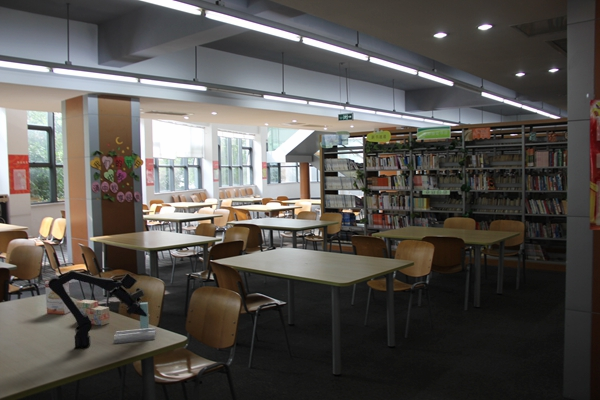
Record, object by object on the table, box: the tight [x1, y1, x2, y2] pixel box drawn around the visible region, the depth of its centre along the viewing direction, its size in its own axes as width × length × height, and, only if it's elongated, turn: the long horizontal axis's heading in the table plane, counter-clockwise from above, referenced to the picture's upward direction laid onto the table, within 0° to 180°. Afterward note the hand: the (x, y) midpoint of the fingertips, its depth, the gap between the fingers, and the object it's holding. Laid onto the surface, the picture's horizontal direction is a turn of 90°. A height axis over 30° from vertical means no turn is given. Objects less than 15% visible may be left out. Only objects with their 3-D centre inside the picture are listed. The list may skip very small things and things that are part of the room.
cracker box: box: [44, 280, 71, 315], centre depth 315 cm, size 14×6×21 cm, turn 73°
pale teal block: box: [139, 301, 151, 329], centre depth 259 cm, size 5×3×13 cm, turn 102°
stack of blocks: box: [75, 299, 111, 326], centre depth 291 cm, size 21×6×12 cm, turn 61°
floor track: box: [113, 327, 157, 345], centre depth 258 cm, size 20×12×4 cm, turn 102°
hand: (146, 315), depth 259 cm, fingers closed on pale teal block, 3 cm apart
